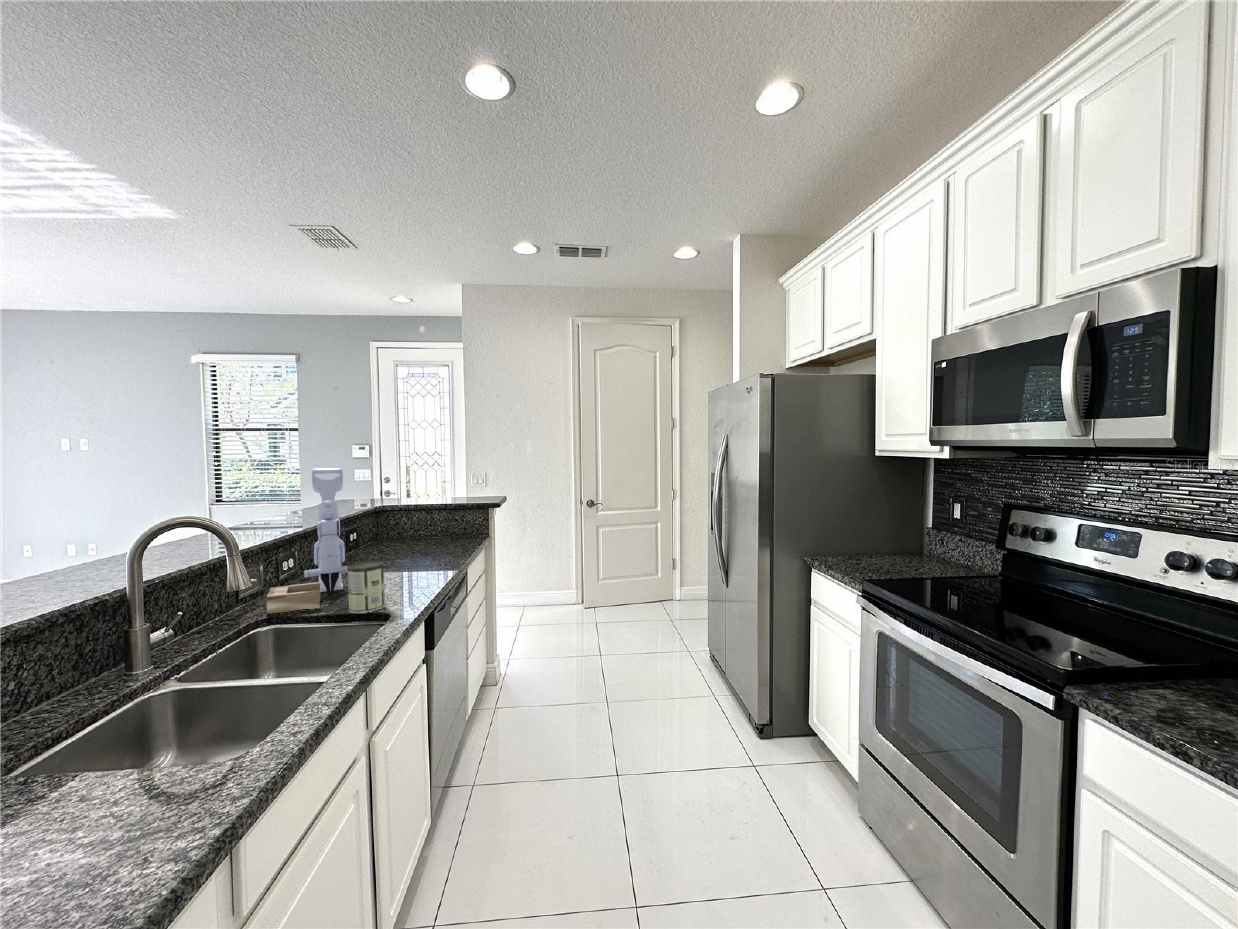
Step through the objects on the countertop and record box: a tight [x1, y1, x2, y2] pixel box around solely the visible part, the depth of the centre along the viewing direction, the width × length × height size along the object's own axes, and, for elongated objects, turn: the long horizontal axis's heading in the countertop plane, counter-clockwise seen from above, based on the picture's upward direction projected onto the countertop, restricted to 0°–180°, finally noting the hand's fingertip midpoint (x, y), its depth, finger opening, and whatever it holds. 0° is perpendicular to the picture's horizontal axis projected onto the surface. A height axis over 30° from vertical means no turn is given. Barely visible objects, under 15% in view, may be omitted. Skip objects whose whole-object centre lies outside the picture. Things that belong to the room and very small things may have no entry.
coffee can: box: [346, 560, 385, 614], centre depth 165 cm, size 10×10×14 cm
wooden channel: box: [266, 581, 321, 614], centre depth 168 cm, size 13×14×6 cm
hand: (330, 596), depth 173 cm, fingers closed
